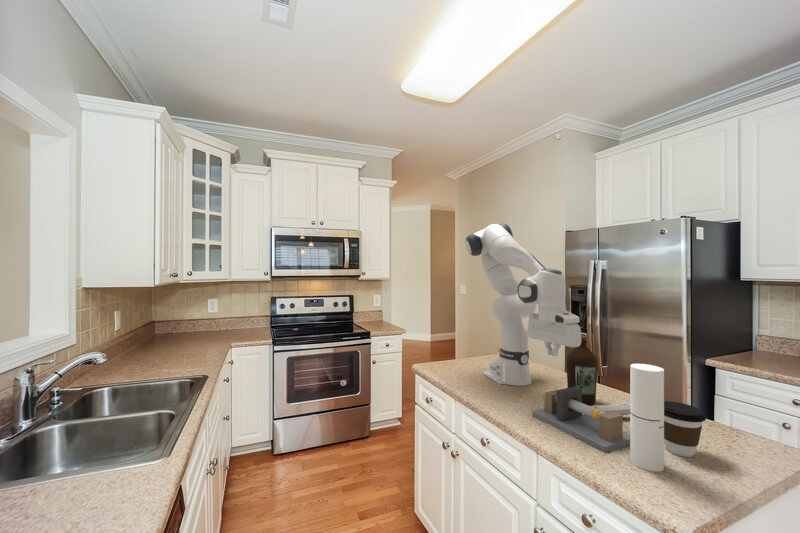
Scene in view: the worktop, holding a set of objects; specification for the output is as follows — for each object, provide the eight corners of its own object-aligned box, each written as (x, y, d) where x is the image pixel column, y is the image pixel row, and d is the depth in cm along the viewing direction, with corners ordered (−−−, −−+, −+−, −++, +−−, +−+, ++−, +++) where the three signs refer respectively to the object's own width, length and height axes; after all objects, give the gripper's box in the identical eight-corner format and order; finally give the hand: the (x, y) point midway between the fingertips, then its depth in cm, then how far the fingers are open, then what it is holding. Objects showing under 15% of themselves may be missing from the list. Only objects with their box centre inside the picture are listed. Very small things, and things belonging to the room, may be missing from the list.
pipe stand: (532, 415, 118) (532, 392, 118) (561, 409, 124) (561, 386, 124) (604, 452, 95) (604, 423, 95) (636, 442, 101) (636, 414, 101)
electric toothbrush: (581, 404, 120) (652, 394, 120) (584, 423, 120) (655, 413, 120) (589, 410, 114) (664, 400, 114) (592, 430, 114) (667, 420, 114)
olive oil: (562, 395, 138) (562, 333, 138) (590, 397, 136) (590, 333, 136) (571, 406, 127) (571, 338, 127) (602, 407, 125) (602, 339, 126)
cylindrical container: (624, 455, 93) (624, 363, 93) (651, 456, 93) (651, 363, 93) (642, 471, 86) (641, 371, 86) (671, 471, 86) (671, 371, 86)
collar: (556, 417, 112) (556, 390, 112) (575, 412, 116) (575, 386, 116) (562, 420, 110) (562, 392, 110) (582, 415, 114) (582, 388, 114)
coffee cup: (686, 464, 89) (686, 418, 89) (645, 444, 100) (645, 402, 100) (716, 458, 92) (716, 413, 92) (673, 439, 103) (673, 398, 103)
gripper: (523, 312, 128) (523, 350, 128) (570, 319, 109) (571, 363, 109) (535, 311, 131) (536, 348, 130) (584, 318, 112) (584, 361, 112)
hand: (552, 355), depth 120 cm, fingers closed
